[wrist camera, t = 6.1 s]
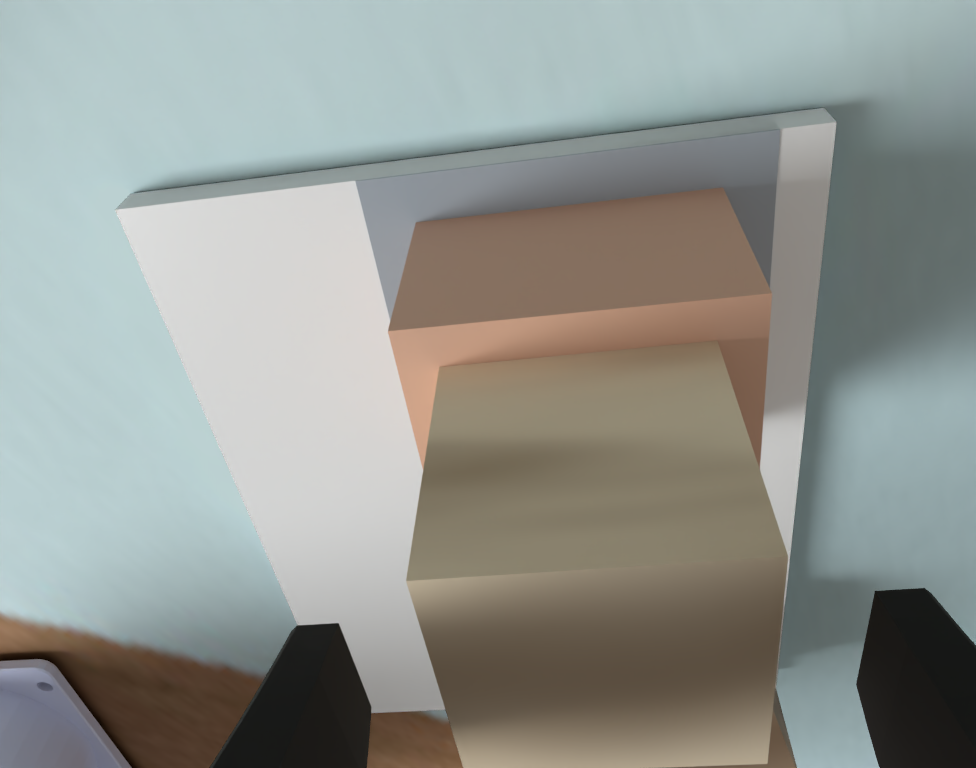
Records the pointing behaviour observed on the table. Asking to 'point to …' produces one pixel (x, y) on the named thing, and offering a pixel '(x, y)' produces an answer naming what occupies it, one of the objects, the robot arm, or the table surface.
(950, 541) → the table surface
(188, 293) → the mat
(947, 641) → the robot arm
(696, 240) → the terracotta block
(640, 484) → the maple block
